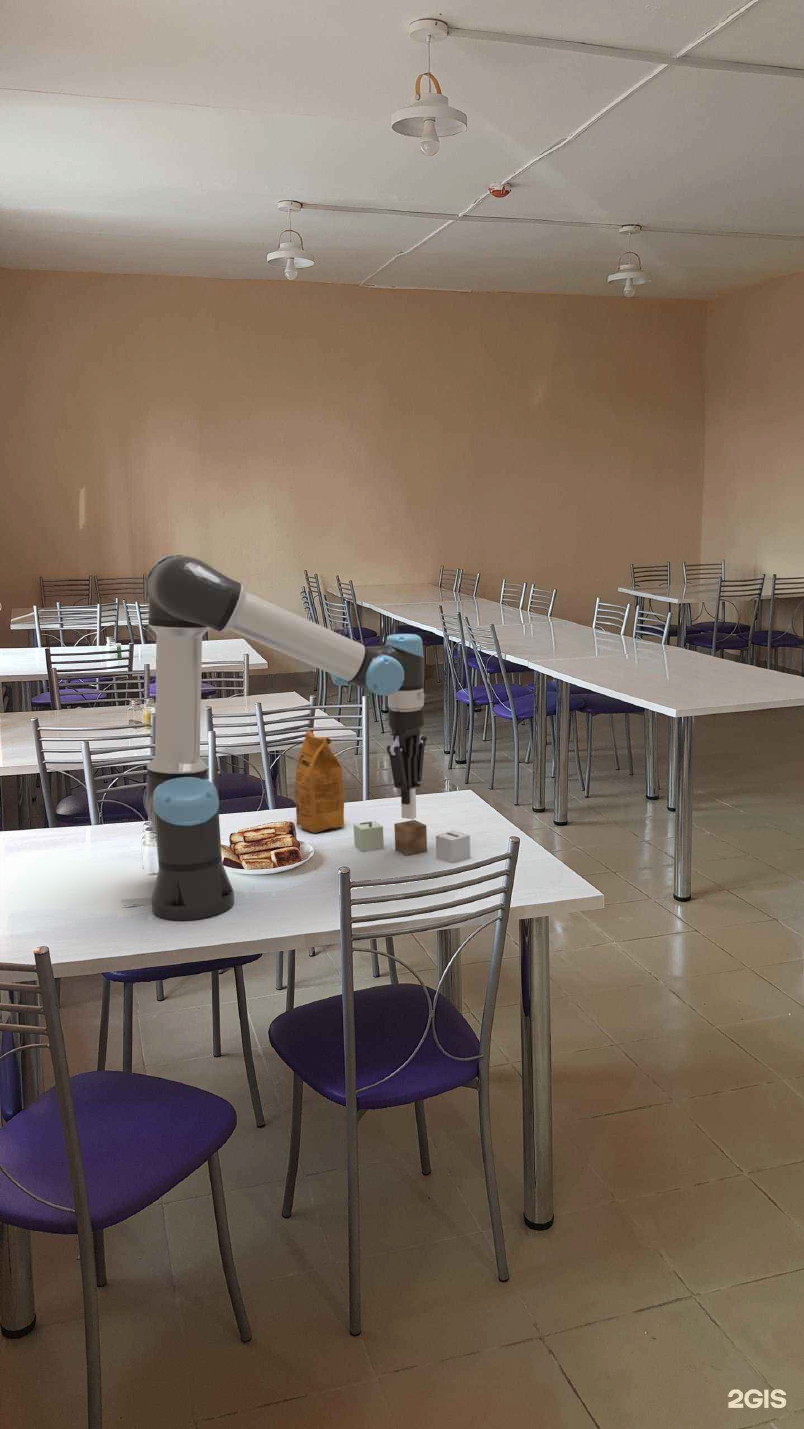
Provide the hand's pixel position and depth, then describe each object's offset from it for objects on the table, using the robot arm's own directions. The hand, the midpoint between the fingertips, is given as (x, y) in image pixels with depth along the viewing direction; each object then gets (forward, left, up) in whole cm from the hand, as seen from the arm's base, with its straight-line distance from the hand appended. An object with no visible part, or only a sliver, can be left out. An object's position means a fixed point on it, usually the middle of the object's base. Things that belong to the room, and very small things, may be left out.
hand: (408, 817), depth 226 cm
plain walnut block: (0, 0, -8) cm, 8 cm away
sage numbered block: (-6, +8, -8) cm, 12 cm away
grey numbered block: (+5, -9, -8) cm, 13 cm away
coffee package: (-8, +29, -8) cm, 31 cm away
